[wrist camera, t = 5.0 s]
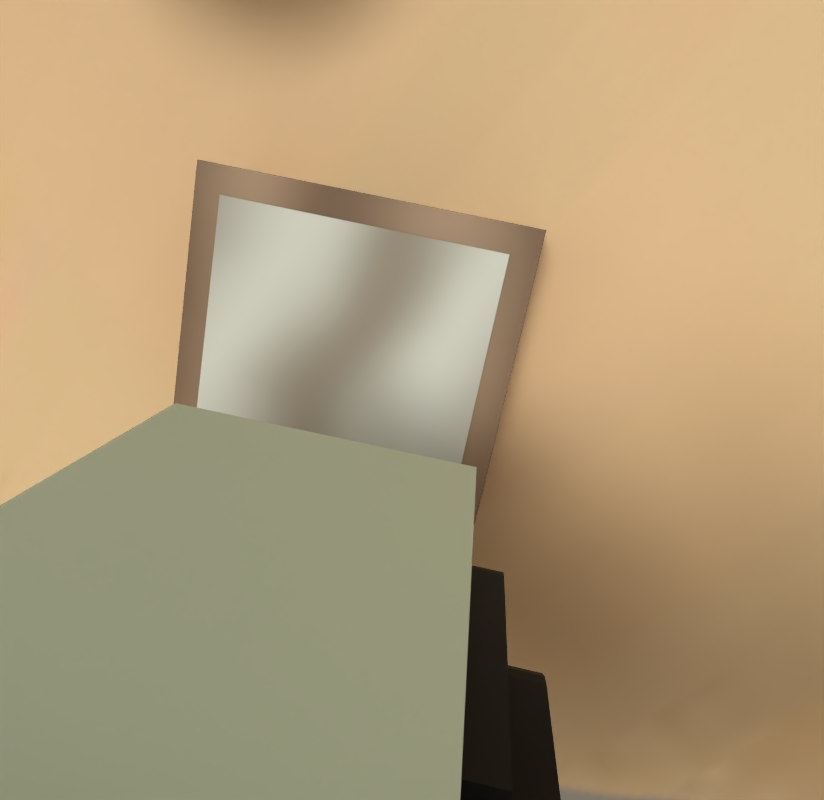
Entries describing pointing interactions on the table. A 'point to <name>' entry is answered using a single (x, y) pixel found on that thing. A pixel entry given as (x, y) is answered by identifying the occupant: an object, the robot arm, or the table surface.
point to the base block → (352, 314)
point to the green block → (236, 619)
